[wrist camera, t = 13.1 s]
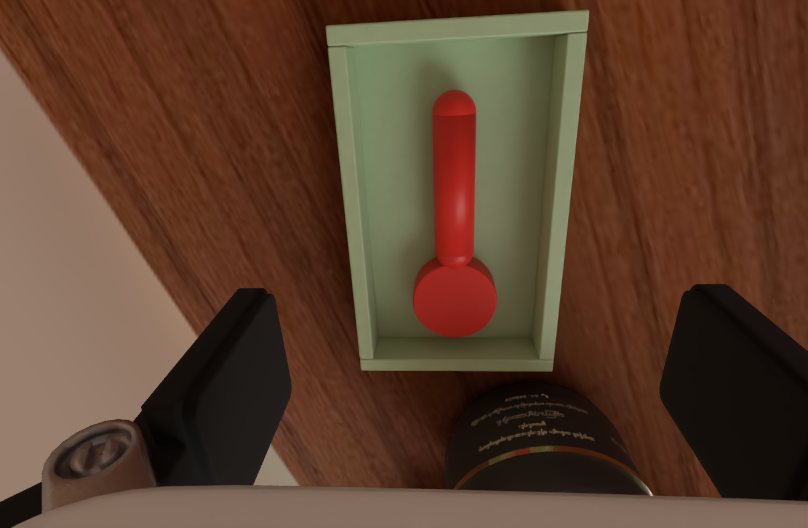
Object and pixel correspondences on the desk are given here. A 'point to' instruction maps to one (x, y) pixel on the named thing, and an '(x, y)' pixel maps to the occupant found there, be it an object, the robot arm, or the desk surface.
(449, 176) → the red spoon
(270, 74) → the desk surface
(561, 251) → the tray
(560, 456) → the jar
